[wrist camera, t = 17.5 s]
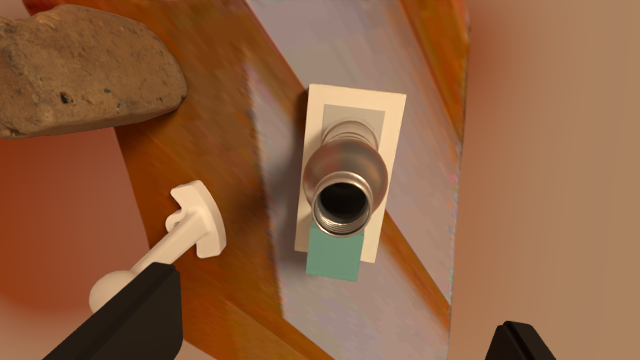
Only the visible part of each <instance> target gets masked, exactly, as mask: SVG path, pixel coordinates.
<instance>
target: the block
mask: <svg viewBox="0 0 640 360" xmlns="http://www.w3.org/2000/svg"><path fill="white" fill-rule="evenodd" d="M186 95H187V86H186V82H185V79H184V76H183V74H182V71H181V69H180V66H179V64H178V63H177V61H176V60H175V58H174V56H173V55H171V54H170V53H169V51H168V48H167V47H166V45H165V44H164V43H163V42H162V40H161V39H160V38H159V37H158V36H157V35H156V34H155V33H153V32H151V31H150V30H148V28H147V26H145V25H144V24H142V23H140V22H137V21H135V20H132V19H129V18H126V17H123V16H120V15H116V14H113V13H109V12H105V11H101V10H98V9H94V8H89V7H84V6H79V5H72V4H62V5H58V6H56V7H54V8H53V9H52V10H49V11H45V12H39V13H37V14H35V15H33V16H31V17H29V18H27V19H10V18H8V17H4V16H0V137H1V138H5V139H22V138H29V137H37V136H50V135H59V134H66V133H74V132H81V131H88V130H95V129H101V128H107V127H117V126H122V125H127V124H134V123H139V122H143V121H147V120H150V119H153V118H155V117H158V116H161V115H164V114H166V113H169V112H171V111H174V110H176V109H177V108H178V107H179V105H180V103H181V102H182V100H183V99H184V98H185V97H186Z"/></svg>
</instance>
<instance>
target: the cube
mask: <svg viewBox="0 0 640 360" xmlns="http://www.w3.org/2000/svg"><path fill="white" fill-rule="evenodd" d="M363 241H364V229H363V230H362V231H361V232H359V233H358V234H356V235H354V236H351V237H347V238H337V237H333V236H330V235H328V234H326V233H324V232H323V231H321V230H320V229H319V228H318V226H317V225H316V224H315V222H314V220H313V222H312V225H311V228H310V236H309V246H308V255H307V264H306V274H310V275H316V276H322V277H328V278H334V279H341V280H347V281H353V282H357V276H358V270H359V265H360V259H361V253H362V247H363Z"/></svg>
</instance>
